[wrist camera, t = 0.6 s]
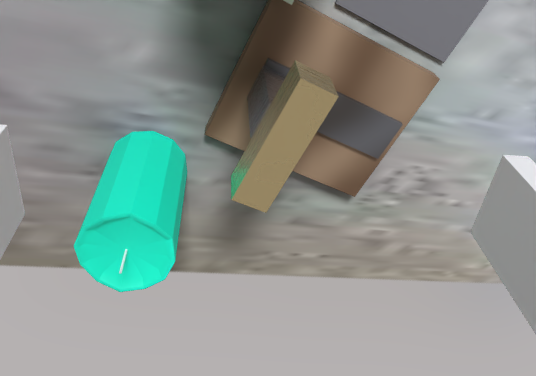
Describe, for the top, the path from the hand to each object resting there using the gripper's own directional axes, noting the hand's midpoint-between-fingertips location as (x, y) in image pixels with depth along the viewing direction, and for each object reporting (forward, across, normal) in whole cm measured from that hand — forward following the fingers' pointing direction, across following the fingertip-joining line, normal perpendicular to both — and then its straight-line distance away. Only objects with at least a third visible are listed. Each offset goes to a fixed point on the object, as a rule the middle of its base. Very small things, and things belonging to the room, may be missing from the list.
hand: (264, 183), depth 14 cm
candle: (+22, -6, -14) cm, 27 cm away
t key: (+20, +2, -6) cm, 21 cm away
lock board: (+22, +6, -7) cm, 24 cm away
